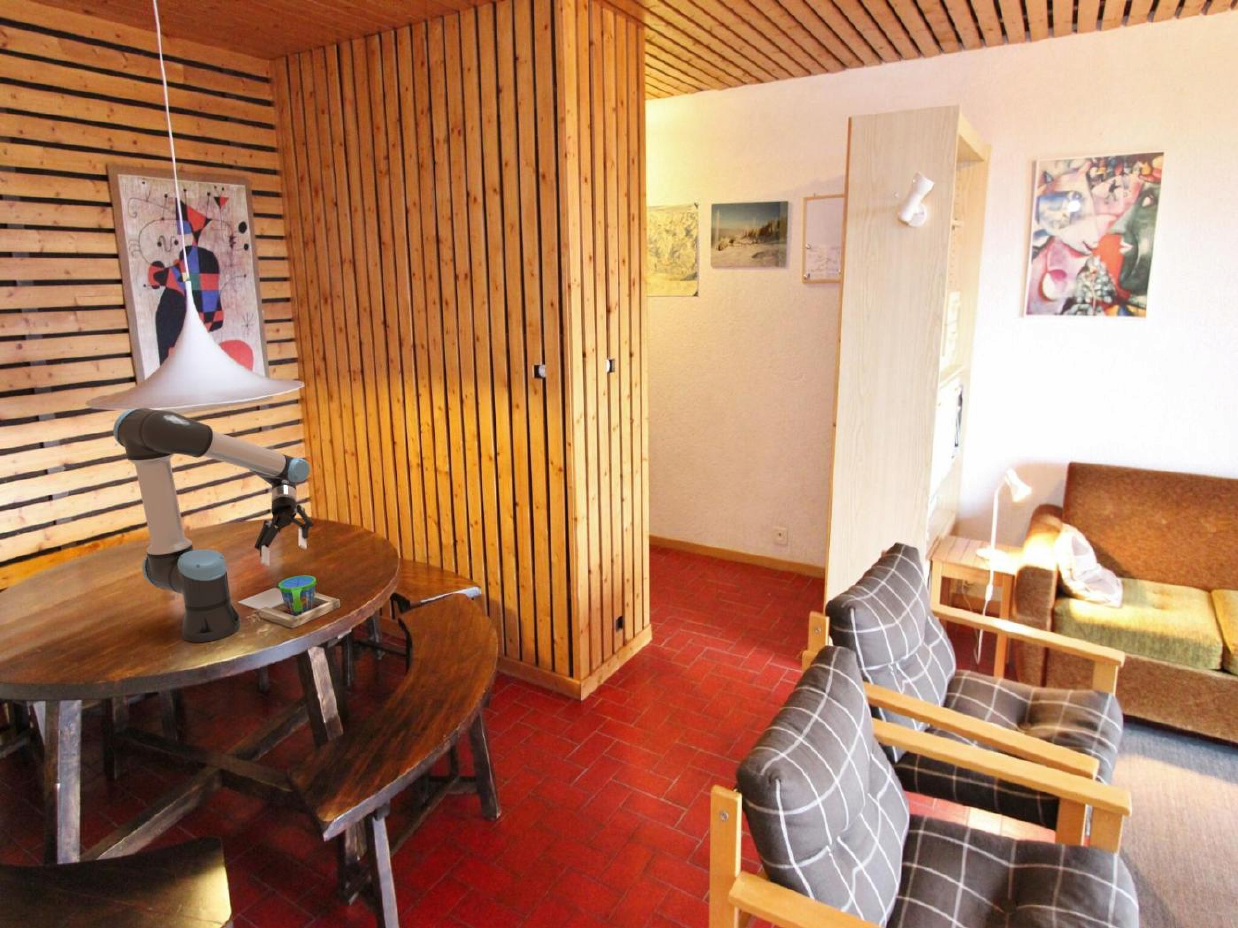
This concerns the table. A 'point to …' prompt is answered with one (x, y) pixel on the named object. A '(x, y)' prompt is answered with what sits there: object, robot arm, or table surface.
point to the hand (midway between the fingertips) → (283, 556)
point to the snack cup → (298, 594)
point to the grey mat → (264, 599)
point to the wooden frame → (292, 621)
